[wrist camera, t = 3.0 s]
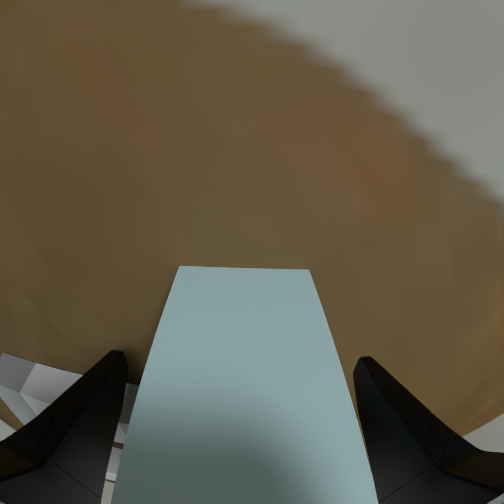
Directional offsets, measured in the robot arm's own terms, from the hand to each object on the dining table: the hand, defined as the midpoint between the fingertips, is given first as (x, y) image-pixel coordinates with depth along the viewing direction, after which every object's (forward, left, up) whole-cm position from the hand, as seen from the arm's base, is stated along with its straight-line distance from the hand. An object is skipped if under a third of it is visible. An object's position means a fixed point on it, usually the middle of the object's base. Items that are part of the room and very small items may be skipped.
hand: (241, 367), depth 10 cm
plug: (0, 0, -2) cm, 2 cm away
